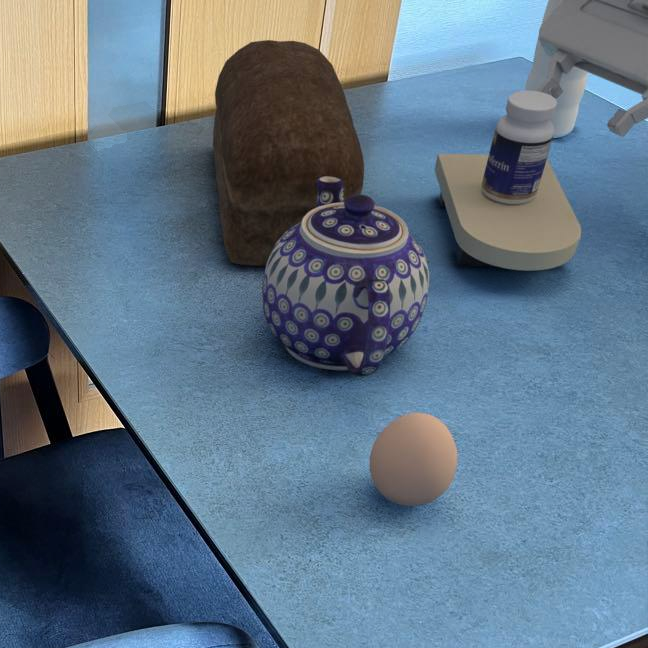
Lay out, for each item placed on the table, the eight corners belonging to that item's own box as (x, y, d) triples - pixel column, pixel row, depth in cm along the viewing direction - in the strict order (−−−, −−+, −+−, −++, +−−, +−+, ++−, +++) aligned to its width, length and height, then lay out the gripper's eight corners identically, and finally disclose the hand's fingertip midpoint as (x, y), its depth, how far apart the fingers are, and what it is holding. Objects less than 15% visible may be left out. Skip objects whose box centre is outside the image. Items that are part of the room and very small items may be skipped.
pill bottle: (470, 184, 111) (492, 91, 104) (518, 178, 112) (544, 85, 105) (496, 209, 107) (521, 113, 100) (546, 202, 108) (574, 107, 101)
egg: (355, 513, 82) (371, 436, 77) (370, 462, 87) (386, 386, 81) (440, 532, 81) (463, 455, 75) (451, 479, 85) (473, 402, 79)
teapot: (440, 421, 90) (480, 271, 80) (270, 422, 91) (287, 273, 80) (389, 273, 108) (417, 134, 98) (247, 274, 109) (259, 136, 98)
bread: (323, 144, 131) (340, 10, 120) (359, 275, 108) (385, 125, 97) (207, 144, 131) (214, 11, 120) (220, 275, 109) (230, 126, 97)
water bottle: (565, 144, 129) (633, -82, 112) (508, 133, 132) (565, -89, 114) (577, 123, 133) (644, -97, 116) (522, 113, 136) (579, -104, 118)
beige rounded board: (428, 194, 120) (437, 153, 117) (534, 197, 120) (546, 155, 116) (458, 295, 105) (469, 251, 101) (579, 298, 104) (594, 254, 101)
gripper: (587, -53, 107) (494, 64, 110) (762, 3, 94) (649, 133, 98) (604, -14, 111) (514, 97, 115) (773, 45, 99) (665, 167, 102)
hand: (577, 114), depth 106 cm, fingers open, 8 cm apart
